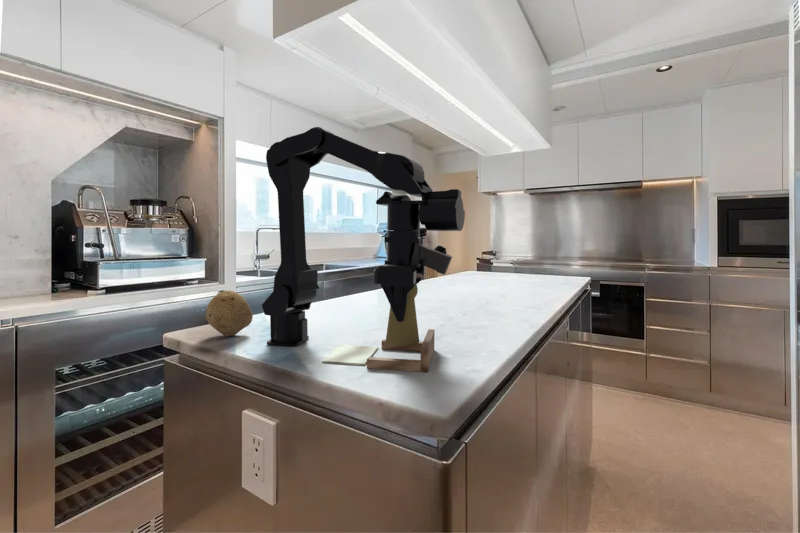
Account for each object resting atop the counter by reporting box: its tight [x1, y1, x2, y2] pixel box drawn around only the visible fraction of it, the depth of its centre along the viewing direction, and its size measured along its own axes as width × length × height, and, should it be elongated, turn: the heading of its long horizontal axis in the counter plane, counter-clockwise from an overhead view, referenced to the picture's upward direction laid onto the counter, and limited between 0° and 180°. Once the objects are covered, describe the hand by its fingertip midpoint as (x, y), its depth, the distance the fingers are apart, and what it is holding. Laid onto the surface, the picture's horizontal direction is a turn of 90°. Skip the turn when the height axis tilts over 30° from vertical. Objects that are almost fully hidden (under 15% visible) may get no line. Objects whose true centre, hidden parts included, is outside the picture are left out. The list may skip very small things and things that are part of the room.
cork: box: [385, 284, 420, 346], centre depth 68 cm, size 6×6×11 cm
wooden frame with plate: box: [321, 328, 436, 373], centre depth 69 cm, size 18×12×4 cm
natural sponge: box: [205, 290, 254, 337], centre depth 83 cm, size 9×9×10 cm
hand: (402, 318), depth 68 cm, fingers closed on cork, 4 cm apart
